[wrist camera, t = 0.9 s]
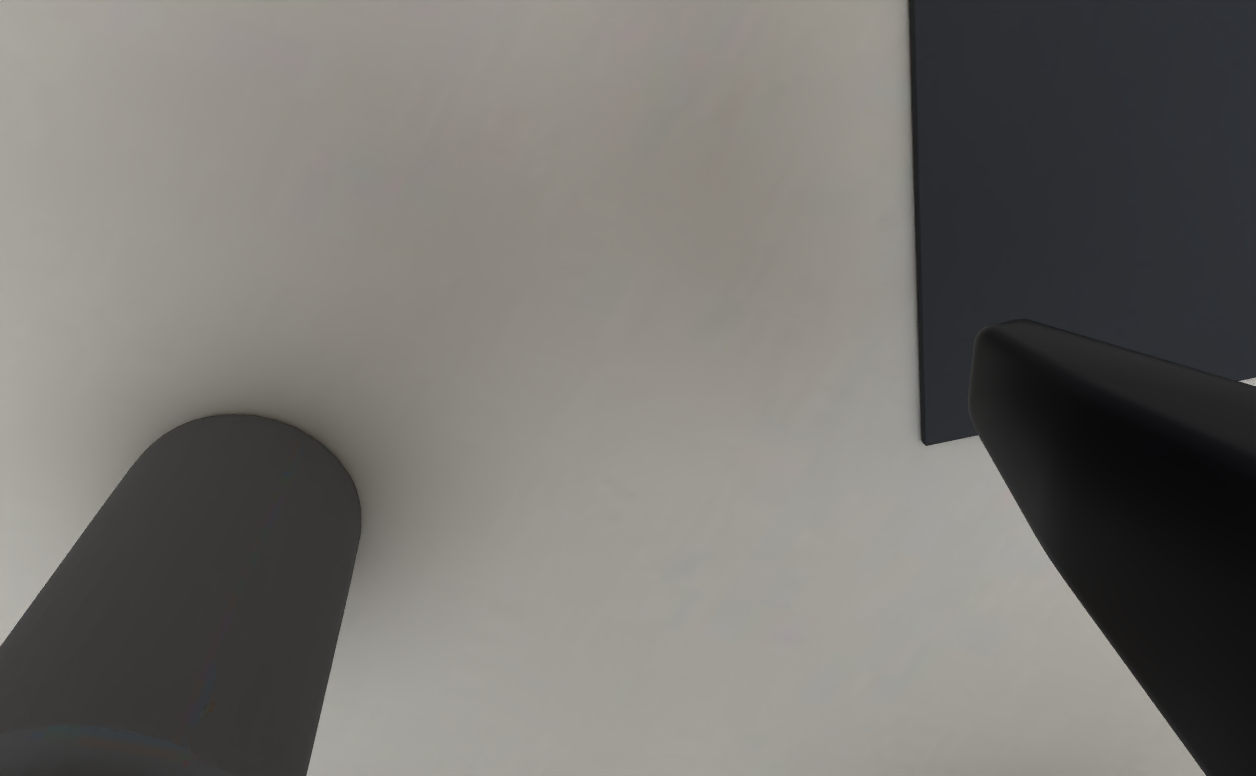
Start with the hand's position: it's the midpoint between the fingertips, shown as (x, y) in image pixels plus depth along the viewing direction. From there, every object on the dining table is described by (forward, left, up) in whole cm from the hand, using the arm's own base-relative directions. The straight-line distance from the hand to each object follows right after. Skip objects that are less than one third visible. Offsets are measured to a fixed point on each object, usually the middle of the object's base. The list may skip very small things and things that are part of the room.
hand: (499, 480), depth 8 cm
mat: (-3, -16, -15) cm, 22 cm away
